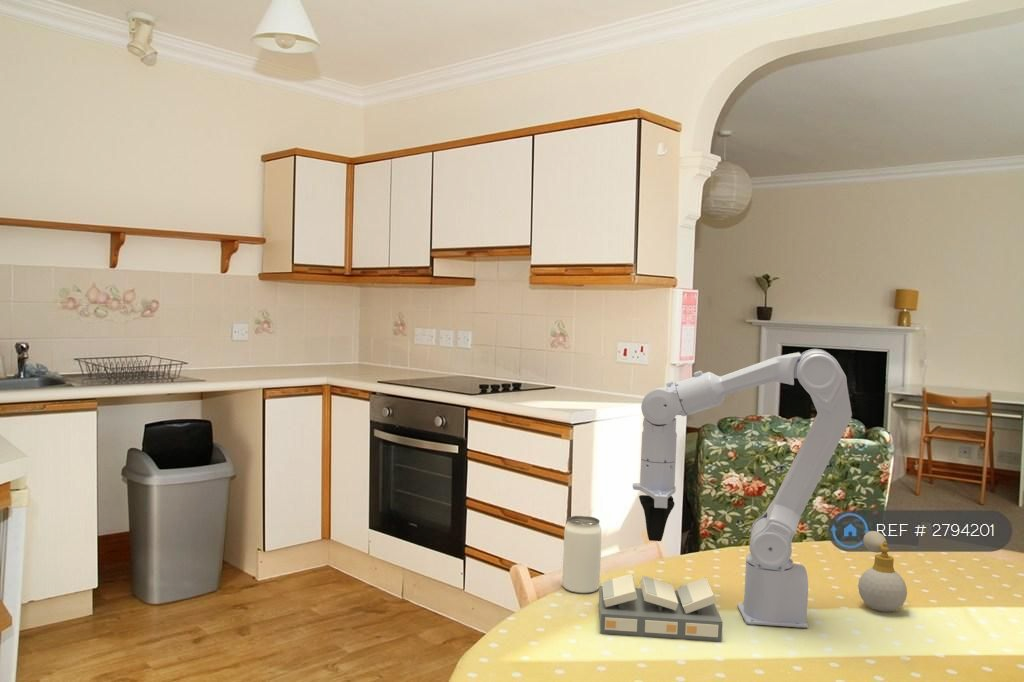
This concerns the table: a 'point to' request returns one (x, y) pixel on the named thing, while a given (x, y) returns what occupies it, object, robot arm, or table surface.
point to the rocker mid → (659, 593)
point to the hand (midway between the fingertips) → (654, 539)
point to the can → (582, 554)
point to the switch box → (659, 620)
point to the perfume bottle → (881, 578)
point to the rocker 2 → (696, 595)
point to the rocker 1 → (619, 590)
